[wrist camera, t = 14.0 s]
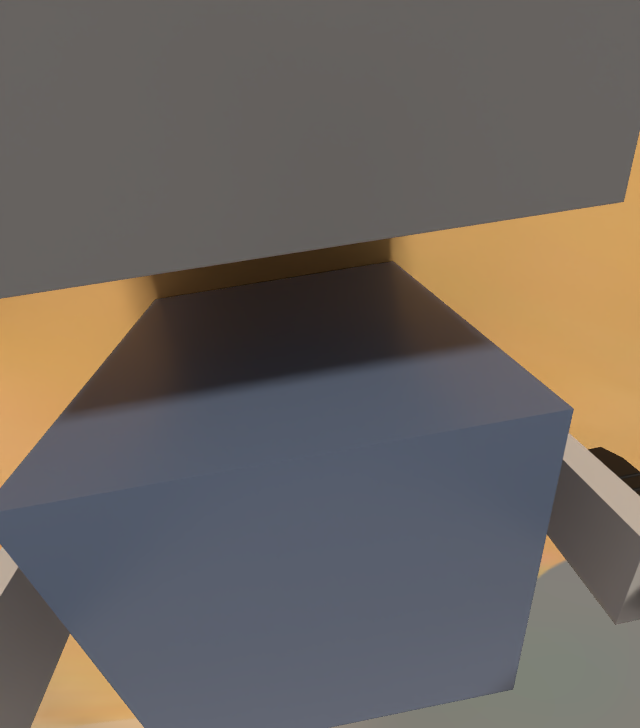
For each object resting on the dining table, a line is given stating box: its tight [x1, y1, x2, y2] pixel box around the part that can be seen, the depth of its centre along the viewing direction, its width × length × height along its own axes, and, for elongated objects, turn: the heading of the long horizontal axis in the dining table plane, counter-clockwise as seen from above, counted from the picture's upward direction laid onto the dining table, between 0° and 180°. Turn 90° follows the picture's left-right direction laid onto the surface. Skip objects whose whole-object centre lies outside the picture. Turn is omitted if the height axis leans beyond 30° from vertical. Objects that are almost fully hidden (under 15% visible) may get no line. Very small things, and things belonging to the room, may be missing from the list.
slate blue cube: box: [0, 261, 573, 728], centre depth 12 cm, size 9×9×10 cm
